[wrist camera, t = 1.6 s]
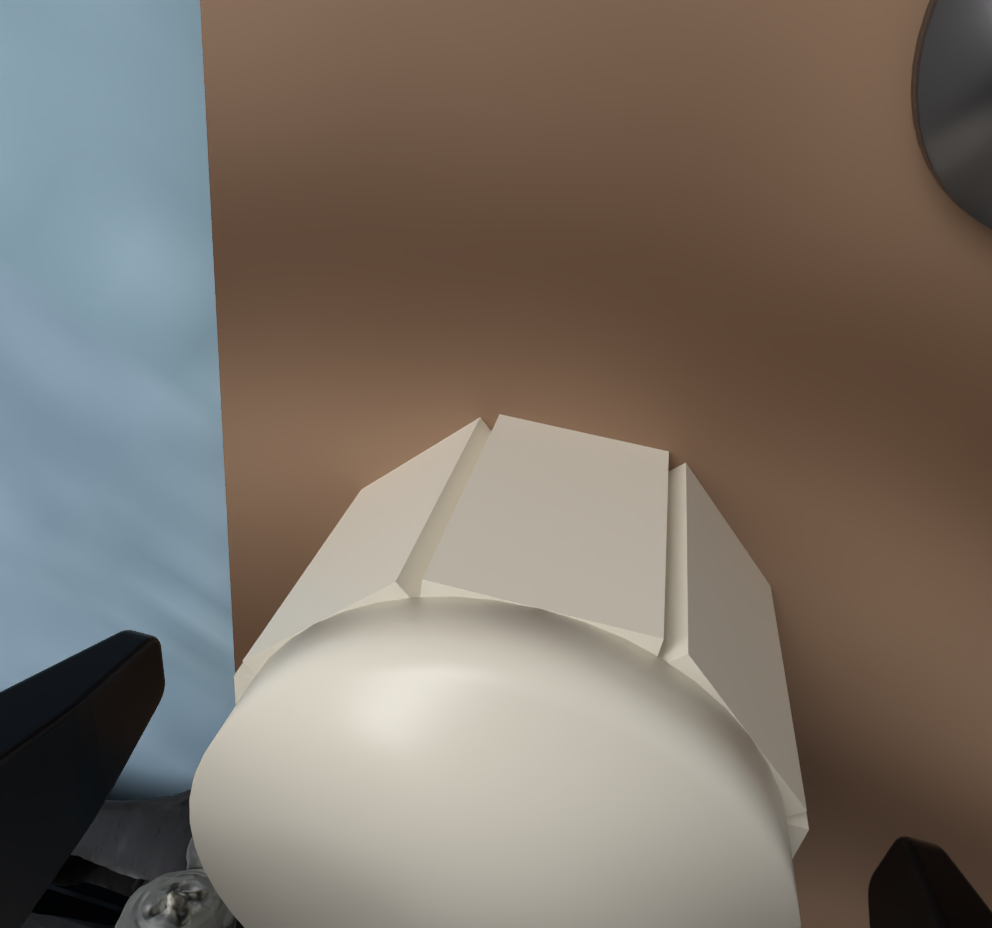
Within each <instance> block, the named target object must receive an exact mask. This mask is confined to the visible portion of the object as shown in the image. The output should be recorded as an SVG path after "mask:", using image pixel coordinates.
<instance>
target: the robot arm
mask: <svg viewBox="0 0 992 928" xmlns="http://www.w3.org/2000/svg"><path fill="white" fill-rule="evenodd" d="M164 687H165V677H164V669H163V660H162V652H161V645H160V642H159V640H158V639H157V638H156V637H154V636H152V635H148V634H144V633H140V632H137V631H132V630H126V631H122V632H119V633H117V634H115V635H113V636H111V637H109V638H107V639H105V640H103V641H101V642H99V643H97V644H95V645H93V646H91V647H89V648H87V649H85V650H83V651H81V652H79V653H77V654H75V655H73V656H71V657H69V658H67V659H65V660H63V661H61V662H59V663H57V664H55V665H53V666H51V667H49V668H47V669H45V670H43V671H41V672H39V673H37V674H35V675H33V676H31V677H29V678H27V679H25V680H23V681H21V682H19V683H17V684H15V685H13V686H11V687H9V688H7V689H6V690H4V691H2V692H0V928H21V926H22V925H23V923H24V922H25V920H26V919H27V918H28V916H29V915H30V913H31V912H32V910H34V911H35V912H36V914H45V915H54V916H59V917H65V918H71V919H76V920H82V921H87V922H93V923H98V924H103V925H111V926H115V925H116V923H117V921H118V920H119V918H120V916H121V914H122V911H123V909H124V907H125V904H126V903H127V901H128V899H129V898H130V897H129V896H124V895H122V894H120V893H116V892H113V891H110V890H107V889H103V888H100V887H97V886H94V885H90V884H87V883H80V884H77V885H68V886H56V885H51V883H52V881H53V880H54V878H55V877H56V875H57V874H58V872H59V871H60V869H61V868H62V866H63V865H64V864H65V862H66V861H67V859H68V858H69V856H70V855H71V853H72V852H73V850H74V849H75V848H76V846H77V845H78V843H79V842H80V840H81V839H82V837H83V836H84V834H85V833H86V831H87V830H88V828H89V827H90V825H91V824H92V822H93V821H94V819H95V818H96V816H97V815H98V813H99V811H100V810H101V808H102V806H103V804H104V803H105V801H106V799H107V797H108V796H109V794H110V792H111V790H112V789H113V787H114V785H115V783H116V781H117V779H118V778H119V776H120V774H121V772H122V770H123V768H124V767H125V765H126V763H127V761H128V759H129V757H130V756H131V754H132V752H133V750H134V748H135V746H136V745H137V743H138V741H139V739H140V737H141V736H142V734H143V732H144V730H145V728H146V726H147V725H148V723H149V721H150V719H151V717H152V715H153V714H154V712H155V710H156V708H157V706H158V704H159V703H160V700H161V698H162V695H163V692H164ZM868 908H869V925H870V928H992V911H991V910H990V908H989V907H988V906H987V904H986V903H985V902H984V900H983V899H982V898H981V897H980V895H979V894H978V893H977V891H976V890H975V889H974V888H973V886H972V885H971V884H970V882H969V881H968V880H967V878H966V877H965V876H964V875H963V873H962V872H961V871H960V869H959V868H958V867H957V866H956V864H955V863H954V862H953V860H952V859H951V858H950V856H949V855H948V854H947V853H946V852H945V851H944V850H943V849H942V848H941V847H940V846H938V845H936V844H934V843H931V842H927V841H923V840H920V839H916V838H912V837H908V836H902V837H900V838H897V839H896V840H895V842H894V843H893V844H892V846H891V847H890V849H889V850H888V852H887V853H886V855H885V856H884V858H883V859H882V861H881V862H880V864H879V865H878V867H877V868H876V870H875V871H874V873H873V874H872V877H871V879H870V882H869V887H868Z"/></svg>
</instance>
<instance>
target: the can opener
mask: <svg viewBox="0 0 992 928" xmlns="http://www.w3.org/2000/svg"><path fill="white" fill-rule="evenodd" d="M190 793H191V790H188V791H186V792H184V793H181V794H178V795H174V796H168V797H161V798H154V799H143V800H124V801H122V800H106V801H105V803H104V804H103V806H102V808H101V810H100V811H99V813H98V815H97V816H96V818H95V819H94V821H93V822H92V824H91V825H90V827H89V828H88V830H87V831H86V833H85V834H84V836H83V837H82V839H81V840H80V842H79V843H78V845H77V846H76V848H75V849H74V850H73V852H72V853H71V855H70V856H69V858H68V859H67V861H66V862H65V864H64V865H63V866H62V868H61V869H60V871H59V872H58V874H57V875H56V877H55V878H54V880H53V881H52V883H51V885H56V886H68V885H77V884H80V883H85V882H87V883H90V884H93V885H97V886H101V887H104V888H106V889H108V890H111V891H115V892H119V893H121V894H122V895H124V896H131V897H130V898H129V899H128V901H127V903H126V904H125V907H124V909H123V911H122V914H121V916H120V918H119V920H118V921H117V923H116V925H115V926H111V925H103V924H98V923H93V922H87V921H82V920H76V919H71V918H65V917H59V916H54V915H45V914H36V912H35V911H34V910H32V912H31V913H30V915H29V916H28V918H27V919H26V920H25V922H24V923H23V925H22V926H21V928H244V927H243V925H242V924H241V923H240V922H239V921H238V920H237V919H236V918H235V916H234V915H233V914H232V913H231V912H230V910H229V909H228V907H227V906H226V905H225V903H224V902H223V901H222V899H221V898H220V896H219V895H218V894H217V892H216V891H215V889H214V887H213V885H212V883H211V882H210V880H209V878H208V876H207V874H206V873H205V871H204V869H203V866H202V864H201V861H200V859H199V856H198V853H197V851H196V848H195V846H194V841H193V836H192V831H191V826H190V807H189V798H190Z"/></svg>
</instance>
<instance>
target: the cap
mask: <svg viewBox="0 0 992 928" xmlns="http://www.w3.org/2000/svg"><path fill="white" fill-rule="evenodd" d="M668 464H669V451H664V450H660V449H655V448H651V447H646V446H642V445H637V444H633V443H628V442H624V441H619V440H615V439H610V438H605V437H601V436H596V435H592V434H587V433H583V432H578V431H574V430H569V429H565V428H560V427H556V426H551V425H547V424H542V423H537V422H533V421H528V420H524V419H519V418H515V417H510V416H506V415H501V414H499V416H498V419H497V421H496V423H495V425H494V427H493V429H492V431H491V430H490V429H489V428H488V426H487V425H486V424H485V422H484V421H483V420H482V418H481V417H480V418H478V419H476V420H475V421H473V422H471V423H470V424H468V425H466V426H465V427H463V428H462V429H460V430H458V431H457V432H455V433H453V434H452V435H450V436H448V437H447V438H445V439H443V440H442V441H440V442H439V443H437V444H435V445H434V446H432V447H430V448H429V449H427V450H425V451H424V452H422V453H420V454H419V455H417V456H416V457H414V458H412V459H411V460H409V461H407V462H406V463H404V464H402V465H401V466H399V467H397V468H396V469H394V470H393V471H391V472H389V473H388V474H386V475H384V476H383V477H381V478H379V479H378V480H376V481H374V482H373V483H371V484H370V485H368V486H366V487H365V488H363V489H361V491H360V492H359V493H358V495H357V496H356V498H355V499H354V501H353V502H352V504H351V505H350V506H349V508H348V509H347V511H346V512H345V514H344V515H343V517H342V518H341V519H340V521H339V522H338V524H337V525H336V527H335V528H334V530H333V531H332V532H331V534H330V535H329V537H328V538H327V540H326V541H325V543H324V544H323V545H322V547H321V548H320V550H319V551H318V553H317V554H316V556H315V557H314V558H313V560H312V561H311V563H310V564H309V566H308V567H307V569H306V570H305V571H304V573H303V574H302V576H301V577H300V579H299V580H298V582H297V583H296V584H295V586H294V587H293V589H292V590H291V592H290V593H289V595H288V596H287V597H286V599H285V600H284V602H283V603H282V605H281V606H280V608H279V609H278V610H277V612H276V613H275V615H274V616H273V618H272V619H271V621H270V622H269V623H268V625H267V626H266V628H265V629H264V631H263V632H262V633H261V635H260V636H259V638H258V639H257V641H256V642H255V644H254V645H253V646H252V648H251V649H250V651H249V652H248V654H247V655H246V657H245V658H244V659H243V661H242V662H243V663H242V665H241V666H240V667H239V669H238V670H237V672H236V673H235V675H234V684H235V703H236V706H235V707H234V709H233V711H232V712H231V714H230V715H229V717H228V718H227V720H226V721H225V723H224V724H223V726H222V727H221V729H220V730H219V732H218V733H217V735H216V736H215V738H214V739H213V741H212V743H211V744H210V746H209V747H208V749H207V750H206V752H205V753H204V755H203V757H202V759H201V762H200V764H199V766H198V768H197V770H196V773H195V775H194V779H193V783H192V788H191V793H190V798H189V807H190V826H191V831H192V836H193V841H194V846H195V848H196V851H197V853H198V856H199V859H200V861H201V864H202V866H203V869H204V871H205V873H206V874H207V876H208V878H209V880H210V882H211V883H212V885H213V887H214V889H215V891H216V892H217V894H218V895H219V896H220V898H221V899H222V901H223V902H224V903H225V905H226V906H227V907H228V909H229V910H230V912H231V913H232V914H233V915H234V916H235V918H236V919H237V920H238V921H239V922H240V923H241V924H242V925H243V927H244V928H801V921H800V913H799V906H798V898H797V891H796V883H795V876H794V869H793V861H792V859H793V857H794V855H795V854H796V852H797V850H798V848H799V846H800V845H801V843H802V841H803V839H804V838H805V836H806V834H807V832H808V831H809V826H808V820H807V814H806V812H807V808H806V801H805V795H804V789H803V783H802V777H801V771H800V764H799V758H798V752H797V746H796V740H795V733H794V727H793V721H792V715H791V709H790V702H789V696H788V690H787V684H786V678H785V672H784V665H783V659H782V653H781V647H780V641H779V634H778V628H777V622H776V616H775V610H774V603H773V597H772V591H771V586H770V584H769V583H768V582H767V580H766V579H765V577H764V576H763V574H762V573H761V571H760V570H759V568H758V567H757V565H756V564H755V563H754V561H753V560H752V558H751V557H750V555H749V554H748V552H747V551H746V549H745V548H744V547H743V545H742V544H741V542H740V541H739V539H738V538H737V536H736V535H735V533H734V532H733V530H732V529H731V528H730V526H729V525H728V523H727V522H726V520H725V519H724V517H723V516H722V514H721V513H720V511H719V510H718V509H717V507H716V506H715V504H714V503H713V501H712V500H711V498H710V497H709V495H708V494H707V493H706V491H705V490H704V488H703V487H702V485H701V484H700V482H699V481H698V479H697V478H696V476H695V475H694V474H693V472H692V471H691V469H690V468H689V466H688V465H687V463H684V464H682V465H680V466H678V467H676V468H674V469H672V470H670V471H668Z"/></svg>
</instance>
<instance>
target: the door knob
mask: <svg viewBox="0 0 992 928" xmlns="http://www.w3.org/2000/svg"><path fill="white" fill-rule="evenodd" d="M911 106H912V119H913V124H914V128H915V132H916V137H917V141H918V145H919V147H920V150H921V152H922V155H923V157H924V160H925V162H926V165H927V166H928V168H929V170H930V171H931V173H932V175H933V176H934V178H935V180H936V181H937V183H938V185H939V186H940V187H941V188H942V189H943V191H944V192H945V193H946V194H947V195H948V196H949V198H950V199H951V200H952V201H953V202H954V203H955V204H956V205H957V206H959V207H960V208H961V209H962V210H963V211H965V212H966V213H967V214H968V215H969V216H971V217H972V218H974V219H975V220H977V221H978V222H980V223H982V224H983V225H985V226H987V227H988V228H990V229H992V0H930V1H929V3H928V6H927V8H926V11H925V14H924V18H923V21H922V24H921V27H920V31H919V34H918V37H917V42H916V47H915V53H914V58H913V64H912V76H911Z"/></svg>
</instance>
